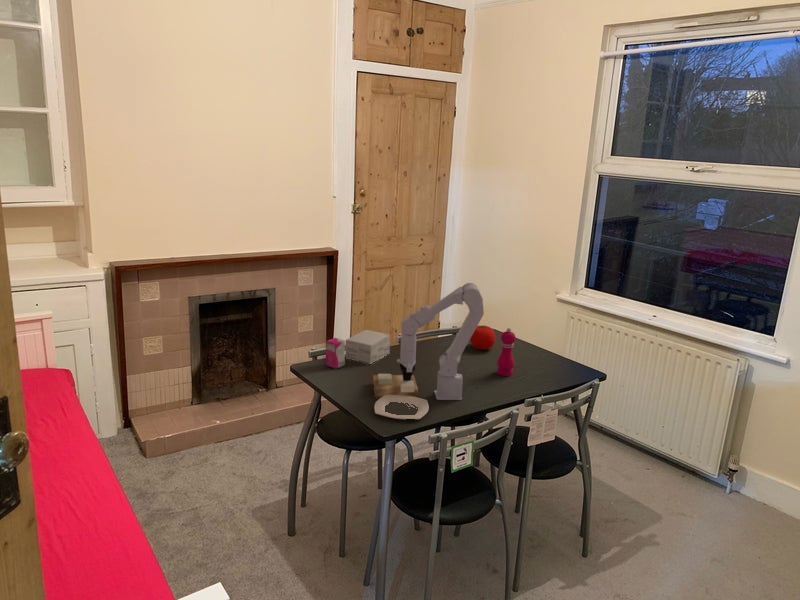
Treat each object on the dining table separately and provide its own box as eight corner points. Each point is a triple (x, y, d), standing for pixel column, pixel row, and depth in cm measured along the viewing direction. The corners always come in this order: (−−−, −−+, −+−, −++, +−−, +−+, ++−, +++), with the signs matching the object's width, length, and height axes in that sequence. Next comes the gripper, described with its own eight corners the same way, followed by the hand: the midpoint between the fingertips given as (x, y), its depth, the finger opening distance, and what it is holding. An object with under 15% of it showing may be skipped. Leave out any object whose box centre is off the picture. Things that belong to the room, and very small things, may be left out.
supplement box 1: (335, 362, 255) (335, 337, 252) (345, 366, 251) (345, 340, 248) (325, 366, 251) (325, 340, 248) (335, 369, 247) (335, 343, 244)
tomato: (490, 343, 288) (492, 322, 285) (496, 353, 275) (498, 330, 272) (466, 343, 287) (468, 321, 284) (471, 352, 274) (473, 330, 271)
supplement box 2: (364, 348, 274) (365, 329, 272) (389, 354, 268) (390, 334, 266) (344, 359, 260) (344, 339, 257) (370, 365, 254) (371, 344, 251)
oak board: (413, 383, 237) (413, 375, 236) (417, 398, 223) (418, 389, 222) (373, 383, 235) (373, 375, 234) (374, 398, 222) (375, 389, 221)
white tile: (413, 386, 225) (413, 380, 224) (414, 392, 220) (414, 386, 219) (399, 386, 224) (400, 380, 224) (400, 392, 220) (401, 386, 219)
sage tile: (390, 379, 231) (391, 373, 230) (391, 384, 226) (392, 378, 225) (377, 379, 230) (378, 373, 229) (378, 384, 225) (378, 378, 225)
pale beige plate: (423, 426, 202) (424, 421, 202) (368, 419, 206) (368, 414, 205) (432, 403, 221) (432, 398, 220) (381, 397, 224) (381, 392, 224)
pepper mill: (493, 374, 250) (497, 328, 245) (499, 368, 256) (503, 324, 251) (510, 377, 247) (514, 331, 241) (515, 372, 253) (520, 327, 248)
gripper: (395, 342, 228) (394, 375, 232) (399, 355, 214) (397, 390, 218) (414, 342, 229) (412, 375, 232) (418, 355, 215) (416, 390, 219)
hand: (406, 382), depth 225 cm, fingers closed
